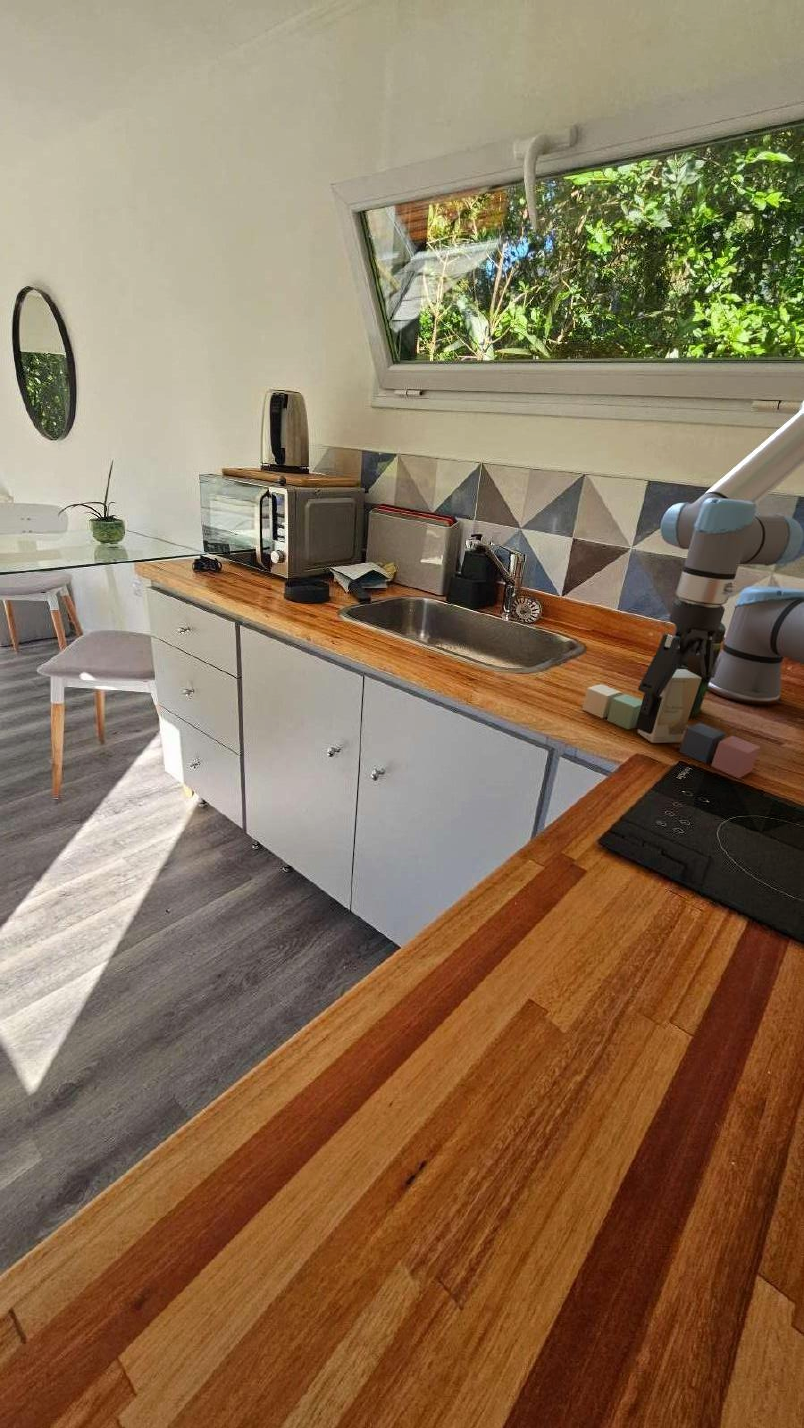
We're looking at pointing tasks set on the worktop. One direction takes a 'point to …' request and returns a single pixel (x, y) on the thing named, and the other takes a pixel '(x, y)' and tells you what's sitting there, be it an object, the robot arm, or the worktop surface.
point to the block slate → (701, 742)
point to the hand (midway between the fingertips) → (664, 722)
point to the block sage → (625, 711)
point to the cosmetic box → (674, 708)
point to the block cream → (599, 700)
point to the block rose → (735, 756)
